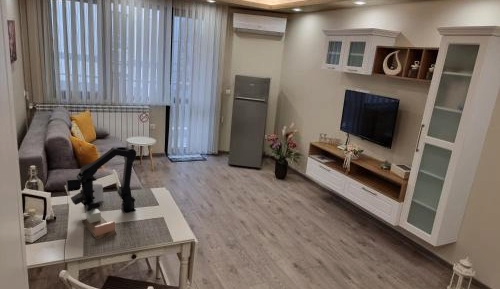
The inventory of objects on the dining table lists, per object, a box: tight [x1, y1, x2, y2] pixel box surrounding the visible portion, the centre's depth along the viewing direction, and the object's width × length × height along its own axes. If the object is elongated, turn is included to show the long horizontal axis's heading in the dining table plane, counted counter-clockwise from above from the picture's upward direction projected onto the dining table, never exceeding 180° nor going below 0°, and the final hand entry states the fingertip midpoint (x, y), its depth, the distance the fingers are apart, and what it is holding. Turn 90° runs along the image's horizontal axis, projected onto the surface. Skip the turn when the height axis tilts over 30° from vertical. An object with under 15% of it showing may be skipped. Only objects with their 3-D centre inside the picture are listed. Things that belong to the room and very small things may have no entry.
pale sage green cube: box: [85, 208, 102, 223], centre depth 192 cm, size 6×5×5 cm
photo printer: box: [93, 182, 104, 203], centre depth 216 cm, size 10×4×12 cm, turn 123°
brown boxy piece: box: [81, 216, 117, 240], centre depth 187 cm, size 10×22×6 cm, turn 44°
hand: (88, 213), depth 197 cm, fingers closed
